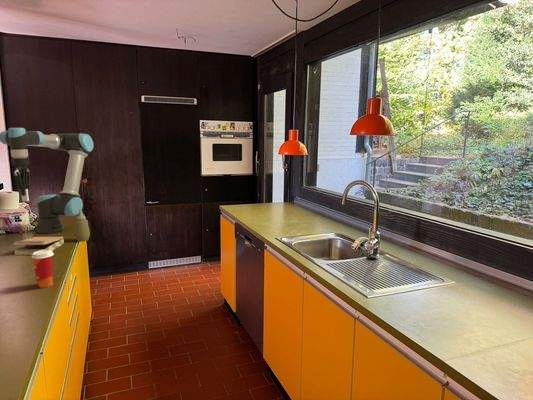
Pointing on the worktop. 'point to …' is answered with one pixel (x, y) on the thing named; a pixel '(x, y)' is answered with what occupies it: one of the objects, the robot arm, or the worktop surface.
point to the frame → (26, 251)
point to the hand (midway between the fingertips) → (25, 201)
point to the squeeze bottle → (81, 228)
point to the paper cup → (43, 268)
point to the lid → (38, 241)
